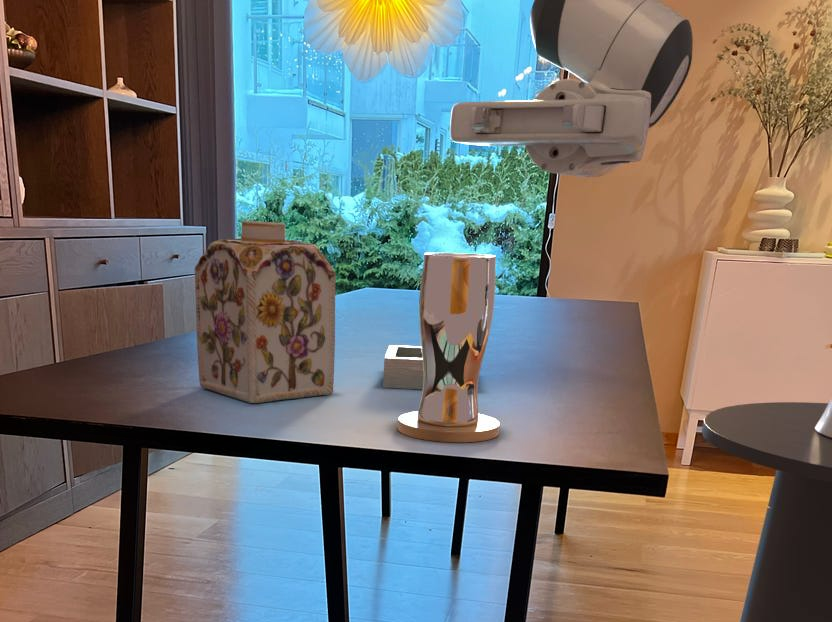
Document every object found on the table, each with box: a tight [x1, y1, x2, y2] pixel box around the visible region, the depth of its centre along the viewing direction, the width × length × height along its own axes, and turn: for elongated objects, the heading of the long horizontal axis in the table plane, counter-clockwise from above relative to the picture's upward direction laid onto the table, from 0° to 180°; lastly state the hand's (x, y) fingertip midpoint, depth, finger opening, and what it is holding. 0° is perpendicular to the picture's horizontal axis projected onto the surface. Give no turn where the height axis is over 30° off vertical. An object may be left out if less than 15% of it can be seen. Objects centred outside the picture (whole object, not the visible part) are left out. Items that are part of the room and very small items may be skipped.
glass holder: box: [382, 344, 423, 390], centre depth 113 cm, size 11×11×4 cm
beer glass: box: [417, 252, 497, 427], centre depth 85 cm, size 7×7×15 cm
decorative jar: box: [194, 220, 337, 405], centre depth 100 cm, size 12×12×18 cm
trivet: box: [397, 410, 501, 443], centre depth 88 cm, size 10×10×1 cm
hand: (522, 116), depth 86 cm, fingers open, 8 cm apart
